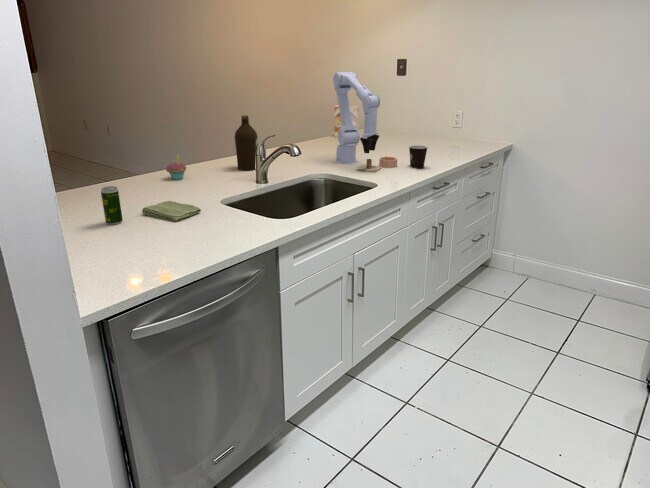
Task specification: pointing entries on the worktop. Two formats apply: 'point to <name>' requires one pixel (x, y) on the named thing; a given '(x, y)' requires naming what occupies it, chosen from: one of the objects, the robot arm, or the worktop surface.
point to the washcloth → (170, 210)
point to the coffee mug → (417, 156)
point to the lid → (369, 167)
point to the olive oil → (245, 145)
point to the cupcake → (176, 169)
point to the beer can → (111, 205)
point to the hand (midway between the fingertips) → (369, 151)
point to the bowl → (388, 162)
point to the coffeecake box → (337, 119)
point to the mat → (365, 171)
